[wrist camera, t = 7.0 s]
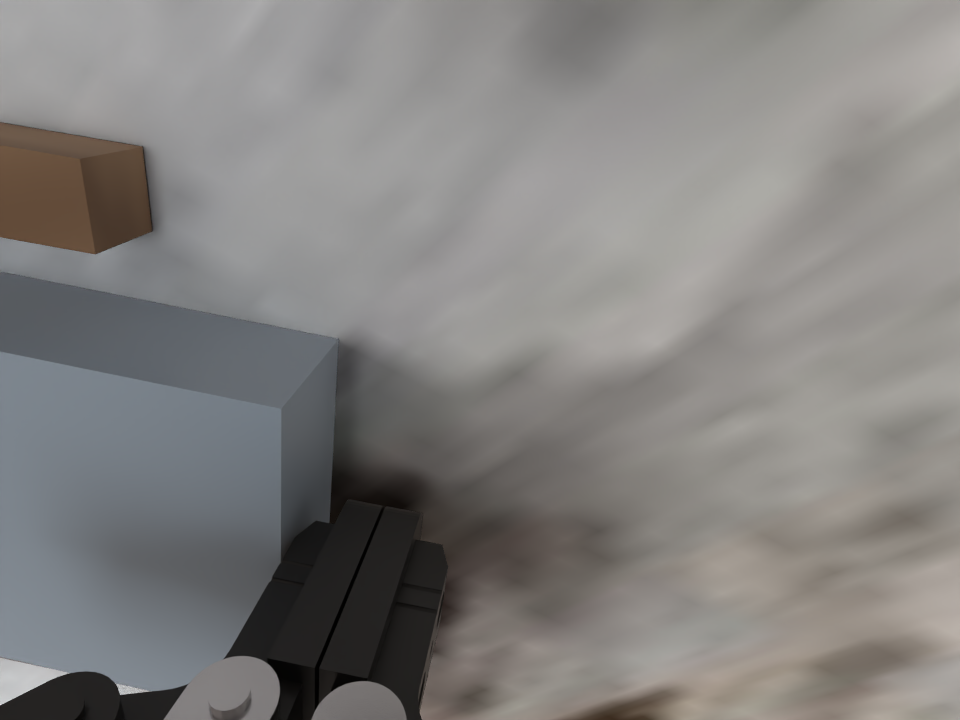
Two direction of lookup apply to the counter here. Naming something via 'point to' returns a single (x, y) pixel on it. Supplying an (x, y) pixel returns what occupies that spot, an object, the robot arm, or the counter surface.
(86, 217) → the wooden frame
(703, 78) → the counter surface
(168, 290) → the counter surface
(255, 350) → the panel
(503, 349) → the counter surface
